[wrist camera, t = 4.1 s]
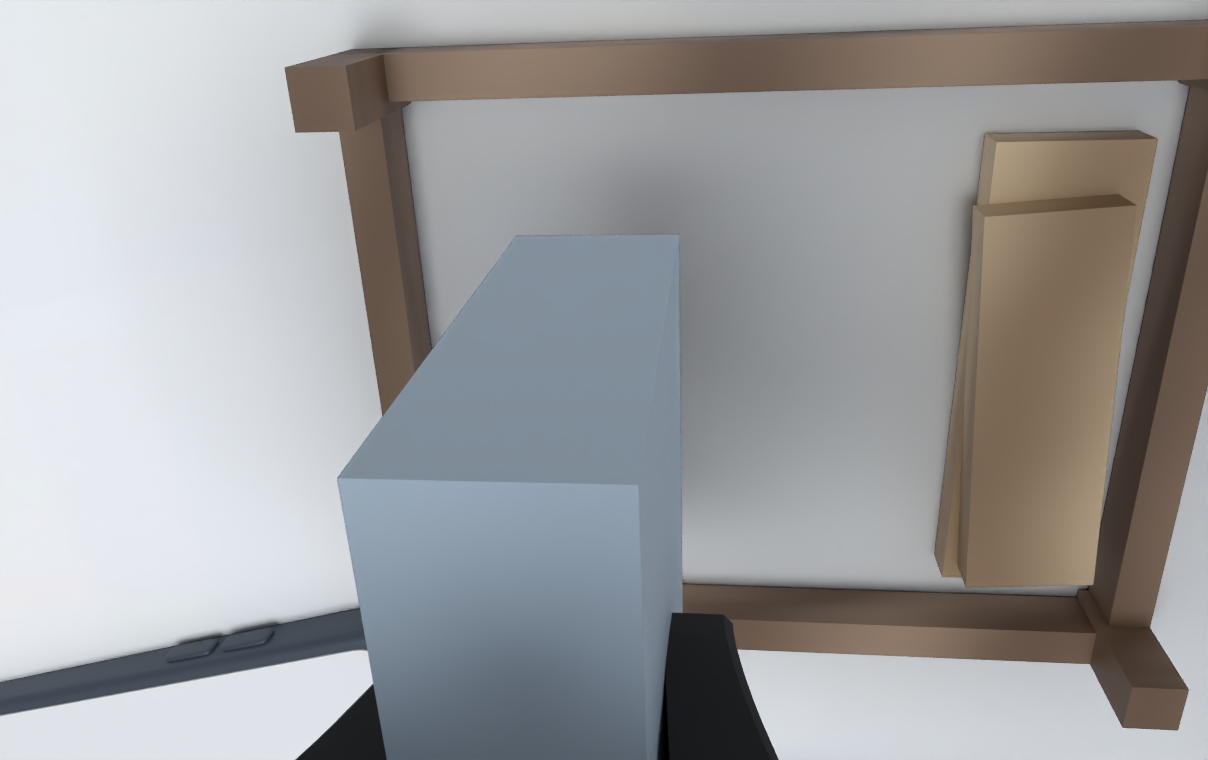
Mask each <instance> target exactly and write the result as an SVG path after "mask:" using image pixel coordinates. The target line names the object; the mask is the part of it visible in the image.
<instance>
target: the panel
mask: <svg viewBox="0 0 1208 760" xmlns="http://www.w3.org/2000/svg"><path fill="white" fill-rule="evenodd" d="M337 481H338V487H339V493H340V498H341V504H342V510H343V515H344V521H345V527H346V532H347V538H348V543H349V549H350V555H351V560H352V566H353V572H354V577H355V583H356V589H357V594H358V600H359V606H360V611H361V617H362V623H363V628H364V634H365V639H366V645H367V651H368V656H369V662H370V668H371V673H372V679H373V685H374V690H375V696H376V702H377V707H378V713H379V719H380V724H381V730H382V735H383V741H384V747H385V752H386V758H387V760H667V740H666V689H665V666H666V656H667V648H668V639H669V631H670V624H671V617H672V612H674V613H683V600H682V498H681V396H680V293H679V234H637V235H536V236H516V237H515V238H514V240H513V241H512V242H511V244H510V245H509V246H508V248H507V249H506V251H505V252H504V253H503V255H502V256H501V257H500V259H499V260H498V261H497V263H496V264H495V265H494V267H493V268H492V269H491V271H490V272H489V274H488V275H487V276H486V278H485V279H484V280H483V282H482V283H481V284H480V286H479V287H478V288H477V290H476V291H475V292H474V294H473V295H472V297H471V298H470V299H469V301H468V302H467V303H466V305H465V306H464V307H463V309H462V310H461V311H460V313H459V314H458V315H457V317H456V318H455V319H454V321H453V322H452V324H451V325H450V326H449V328H448V329H447V330H446V332H445V333H444V334H443V336H442V337H441V338H440V340H439V341H438V342H437V344H436V345H435V347H434V348H433V349H432V351H431V352H430V353H429V355H428V356H427V357H426V359H425V360H424V361H423V363H422V364H421V365H420V367H419V368H418V369H417V371H416V372H415V374H414V375H413V376H412V378H411V379H410V380H409V382H408V383H407V384H406V386H405V387H404V388H403V390H402V391H401V392H400V394H399V395H398V397H397V398H396V399H395V401H394V402H393V403H392V405H391V406H390V407H389V409H388V410H387V411H386V413H385V414H384V415H383V417H382V418H381V420H380V421H379V422H378V424H377V425H376V426H375V428H374V429H373V430H372V432H371V433H370V434H369V436H368V437H367V438H366V440H365V441H364V442H363V444H362V445H361V447H360V448H359V449H358V451H357V452H356V453H355V455H354V456H353V457H352V459H351V460H350V461H349V463H348V464H347V465H346V467H345V468H344V470H343V471H342V472H341V474H340V475H339V476H338V478H337Z"/></svg>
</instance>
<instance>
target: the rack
mask: <svg viewBox="0 0 1208 760" xmlns="http://www.w3.org/2000/svg"><path fill="white" fill-rule="evenodd" d="M285 73H286V79H287V85H288V91H289V97H290V102H291V108H292V114H293V120H294V126H295V132H296V133H298V132H339V134H340V140H341V147H342V154H343V160H344V167H345V173H346V180H347V186H348V193H349V199H350V206H351V212H352V219H353V226H354V232H355V239H356V245H357V252H358V258H359V265H360V271H361V278H362V285H363V291H364V298H365V304H366V311H367V317H368V324H369V330H370V337H371V343H372V350H373V357H374V363H375V370H376V376H377V383H378V389H379V396H380V402H381V409H382V415H384V414H385V413H386V411H387V410H388V409H389V407H390V406H391V405H392V403H393V402H394V401H395V399H396V398H397V397H398V395H399V394H400V392H401V391H402V390H403V388H404V387H405V386H406V384H407V383H408V382H409V380H410V379H411V378H412V376H413V375H414V374H415V372H416V371H417V369H418V368H419V367H420V365H421V364H422V363H423V361H424V360H425V359H426V357H427V356H428V355H429V353H430V352H431V343H430V335H429V327H428V319H427V311H426V303H425V295H424V287H423V279H422V271H421V263H420V255H419V247H418V239H417V231H416V223H415V215H414V207H413V199H412V191H411V183H410V175H409V167H408V159H407V151H406V143H405V135H404V127H403V119H402V111H401V108H403V107H405V106H407V105H409V104H411V101H436V100H472V99H509V98H545V97H581V96H617V95H654V94H690V93H726V92H762V91H798V90H835V89H871V88H907V87H943V86H980V85H1016V84H1052V83H1088V82H1125V81H1161V80H1179V83H1182V84H1186V85H1189V86H1190V91H1189V95H1188V100H1187V105H1186V110H1185V115H1184V120H1183V125H1182V130H1181V135H1180V140H1179V145H1178V150H1177V155H1176V160H1175V164H1174V169H1173V174H1172V179H1171V184H1170V189H1169V194H1168V199H1167V204H1166V209H1165V214H1164V219H1163V224H1162V229H1161V233H1160V238H1159V243H1158V248H1157V253H1156V258H1155V263H1154V268H1153V273H1152V278H1151V283H1150V288H1149V293H1148V298H1147V302H1146V307H1145V312H1144V317H1143V322H1142V327H1141V332H1140V337H1139V342H1138V347H1137V352H1136V357H1135V362H1134V367H1133V371H1132V376H1131V381H1130V386H1129V391H1128V396H1127V401H1126V406H1125V411H1124V416H1123V421H1122V426H1121V431H1120V436H1119V440H1118V445H1117V450H1116V455H1115V460H1114V465H1113V470H1112V475H1111V480H1110V485H1109V490H1108V495H1107V500H1106V505H1105V510H1104V514H1103V519H1102V524H1101V529H1100V534H1099V539H1098V547H1097V556H1096V565H1095V574H1094V582H1093V585H1089V588H1088V590H1078V595H1077V598H1074V597H1045V596H1015V595H986V594H956V593H927V592H898V591H868V590H839V589H809V588H780V587H751V586H721V585H692V584H682V600H683V613H700V614H723V615H724V616H726V617H727V618H728V619H729V620H730V621H731V622H732V623H733V631H734V637H735V642H736V647H737V649H742V650H766V651H790V652H814V653H837V654H861V655H885V656H909V657H933V658H957V659H981V660H1005V661H1028V662H1052V663H1076V664H1090V665H1091V667H1092V669H1093V671H1094V673H1095V675H1096V677H1097V679H1098V681H1099V683H1100V684H1101V686H1102V688H1103V690H1104V692H1105V694H1106V696H1107V698H1108V700H1109V702H1110V704H1111V706H1112V708H1113V710H1114V712H1115V714H1116V716H1117V718H1118V720H1119V721H1120V723H1121V725H1122V727H1123V728H1140V729H1160V730H1178V728H1179V724H1180V721H1181V717H1182V713H1183V710H1184V706H1185V702H1186V698H1187V695H1188V691H1189V689H1188V688H1187V686H1186V684H1185V683H1184V681H1183V680H1182V678H1181V676H1180V675H1179V673H1178V672H1177V670H1176V669H1175V667H1174V665H1173V664H1172V662H1171V661H1170V659H1169V657H1168V656H1167V654H1166V653H1165V651H1164V649H1163V648H1162V646H1161V645H1160V643H1159V642H1158V640H1157V638H1156V637H1155V635H1154V634H1153V632H1152V630H1151V629H1150V625H1151V620H1152V616H1153V612H1154V608H1155V604H1156V600H1157V595H1158V591H1159V587H1160V583H1161V579H1162V575H1163V570H1164V566H1165V562H1166V558H1167V554H1168V550H1169V545H1170V541H1171V537H1172V533H1173V529H1174V524H1175V520H1176V516H1177V512H1178V508H1179V504H1180V499H1181V495H1182V491H1183V487H1184V483H1185V479H1186V474H1187V470H1188V466H1189V462H1190V458H1191V454H1192V449H1193V445H1194V441H1195V437H1196V433H1197V429H1198V424H1199V420H1200V416H1201V412H1202V408H1203V404H1204V399H1205V395H1206V391H1207V387H1208V20H1185V21H1156V22H1127V23H1098V24H1069V25H1040V26H1011V27H982V28H953V29H925V30H896V31H867V32H838V33H809V34H780V35H751V36H722V37H693V38H664V39H636V40H607V41H578V42H549V43H520V44H491V45H462V46H433V47H404V48H376V49H351V50H348V51H344V52H340V53H337V54H333V55H329V56H326V57H322V58H318V59H315V60H311V61H307V62H304V63H300V64H296V65H293V66H289V67H285Z"/></svg>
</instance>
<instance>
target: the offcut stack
mask: <svg viewBox="0 0 1208 760" xmlns="http://www.w3.org/2000/svg"><path fill="white" fill-rule="evenodd" d="M1157 141H1158V139H1157V138H1155V137H1152V136H1150V135H1148V134H1146V133H1143V132H1141V131H1100V132H1054V133H1008V134H985V138H984V146H983V154H982V163H981V171H980V179H979V188H978V196H977V204H976V205H973V222H972V244H971V254H970V263H969V271H968V279H967V288H966V296H965V304H964V312H963V321H962V329H961V337H960V346H959V354H958V362H957V371H956V379H955V387H954V396H953V404H952V412H951V421H950V429H949V437H948V446H947V454H946V462H945V471H944V479H943V487H942V496H941V504H940V512H939V521H938V529H937V537H936V546H935V554H934V555H935V558H936V561H937V564H938V567H939V570H940V572H941V575H942V577H961V578H962V579H963V581H964V584H965V587H966V588H979V587H1024V586H1070V585H1093V582H1094V574H1095V565H1096V556H1097V547H1098V539H1099V530H1100V521H1101V513H1102V504H1103V495H1104V487H1105V478H1106V469H1107V461H1108V452H1109V443H1110V434H1111V426H1112V417H1113V408H1114V400H1115V391H1116V382H1117V374H1118V365H1119V356H1120V348H1121V339H1122V330H1123V322H1124V313H1125V306H1126V301H1127V296H1128V291H1129V286H1130V281H1131V276H1132V270H1133V265H1134V260H1135V255H1136V250H1137V245H1138V239H1139V234H1140V229H1141V224H1142V219H1143V214H1144V208H1145V203H1146V198H1147V193H1148V188H1149V183H1150V177H1151V172H1152V167H1153V162H1154V157H1155V152H1156V146H1157Z"/></svg>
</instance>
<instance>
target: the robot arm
mask: <svg viewBox="0 0 1208 760" xmlns="http://www.w3.org/2000/svg"><path fill="white" fill-rule="evenodd" d="M665 689H666V740H667V760H778V757H777V755H776V753H775V750H774V748H773V746H772V744H771V741H770V739H769V737H768V735H767V732H766V730H765V728H764V725H763V723H762V721H761V718H760V716H759V713H758V711H757V708H756V706H755V703H754V701H753V698H752V695H751V692H750V689H749V686H748V684H747V681H746V678H745V675H744V672H743V668H742V665H741V662H740V658H739V655H738V651H737V647H736V642H735V637H734V631H733V623H732V622H731V621H730V620H729V619H728V618H727V617H726V616H724V615H723V614H700V613H674V612H672V617H671V624H670V631H669V639H668V648H667V656H666V666H665ZM295 760H387V758H386V752H385V747H384V741H383V735H382V730H381V724H380V719H379V713H378V707H377V702H376V696H375V690H374V685H373V684H372V685H371V686H370V687H369V688H368V689H367V690H366V691H365V692H364V693H363V694H362V695H361V696H360V697H359V698H358V699H357V700H356V701H355V702H354V703H353V704H352V705H351V706H350V707H349V708H348V709H347V710H346V711H345V712H344V713H343V715H342V716H341V717H340V718H339V719H338V720H337V721H336V722H335V723H334V724H333V725H332V726H331V727H330V728H329V729H328V730H327V731H325V732H324V733H323V734H322V735H321V736H320V737H319V738H318V739H317V740H316V741H315V742H314V743H313V744H312V745H311V746H310V747H308V748H307V749H306V750H305V751H304V752H303V753H302V754H301V755H300V756H299V757H298V758H297V759H295Z"/></svg>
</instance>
